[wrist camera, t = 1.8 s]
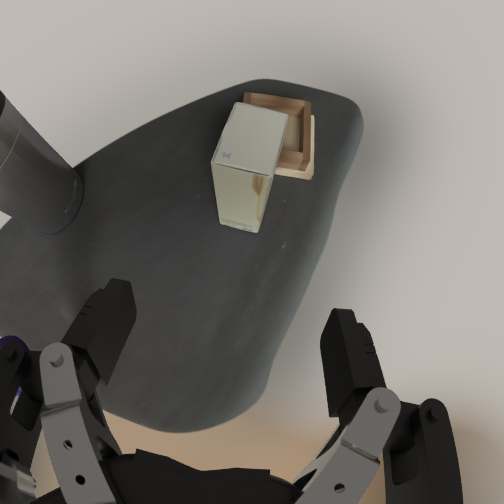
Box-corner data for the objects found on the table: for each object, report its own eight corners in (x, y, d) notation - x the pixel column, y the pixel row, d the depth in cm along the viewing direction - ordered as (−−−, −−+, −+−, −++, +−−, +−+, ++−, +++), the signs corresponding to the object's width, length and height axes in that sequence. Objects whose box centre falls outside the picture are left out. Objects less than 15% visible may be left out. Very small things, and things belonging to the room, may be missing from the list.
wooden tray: (224, 167, 30) (223, 148, 26) (236, 111, 32) (236, 90, 28) (310, 179, 30) (319, 162, 27) (311, 122, 32) (318, 103, 28)
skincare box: (258, 234, 29) (273, 182, 17) (218, 224, 29) (207, 167, 17) (271, 182, 30) (291, 112, 18) (234, 172, 30) (235, 99, 18)
